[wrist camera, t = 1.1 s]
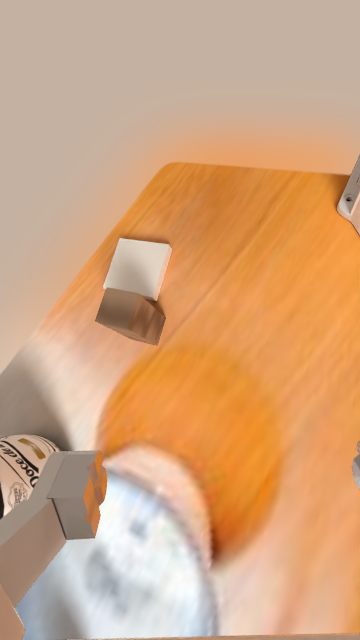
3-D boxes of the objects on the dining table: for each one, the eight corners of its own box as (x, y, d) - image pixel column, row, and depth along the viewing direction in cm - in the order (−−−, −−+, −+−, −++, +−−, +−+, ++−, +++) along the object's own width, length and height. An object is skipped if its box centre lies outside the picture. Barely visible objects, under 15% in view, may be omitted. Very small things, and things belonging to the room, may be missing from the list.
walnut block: (139, 312, 53) (106, 287, 42) (165, 317, 52) (138, 293, 40) (131, 339, 52) (95, 321, 41) (157, 345, 51) (127, 328, 40)
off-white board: (124, 243, 58) (119, 238, 56) (172, 249, 55) (169, 244, 53) (108, 291, 56) (102, 287, 54) (156, 301, 53) (152, 297, 51)
